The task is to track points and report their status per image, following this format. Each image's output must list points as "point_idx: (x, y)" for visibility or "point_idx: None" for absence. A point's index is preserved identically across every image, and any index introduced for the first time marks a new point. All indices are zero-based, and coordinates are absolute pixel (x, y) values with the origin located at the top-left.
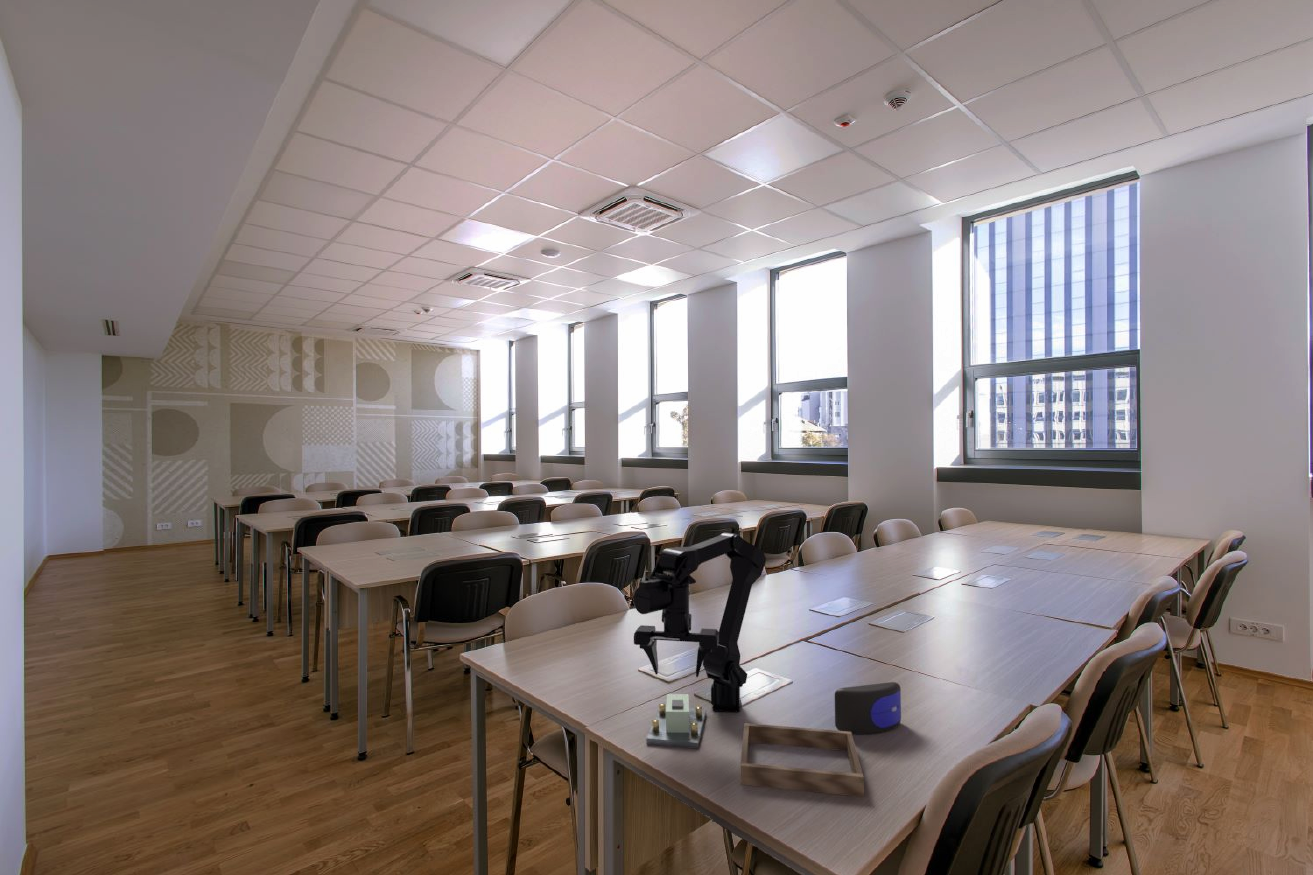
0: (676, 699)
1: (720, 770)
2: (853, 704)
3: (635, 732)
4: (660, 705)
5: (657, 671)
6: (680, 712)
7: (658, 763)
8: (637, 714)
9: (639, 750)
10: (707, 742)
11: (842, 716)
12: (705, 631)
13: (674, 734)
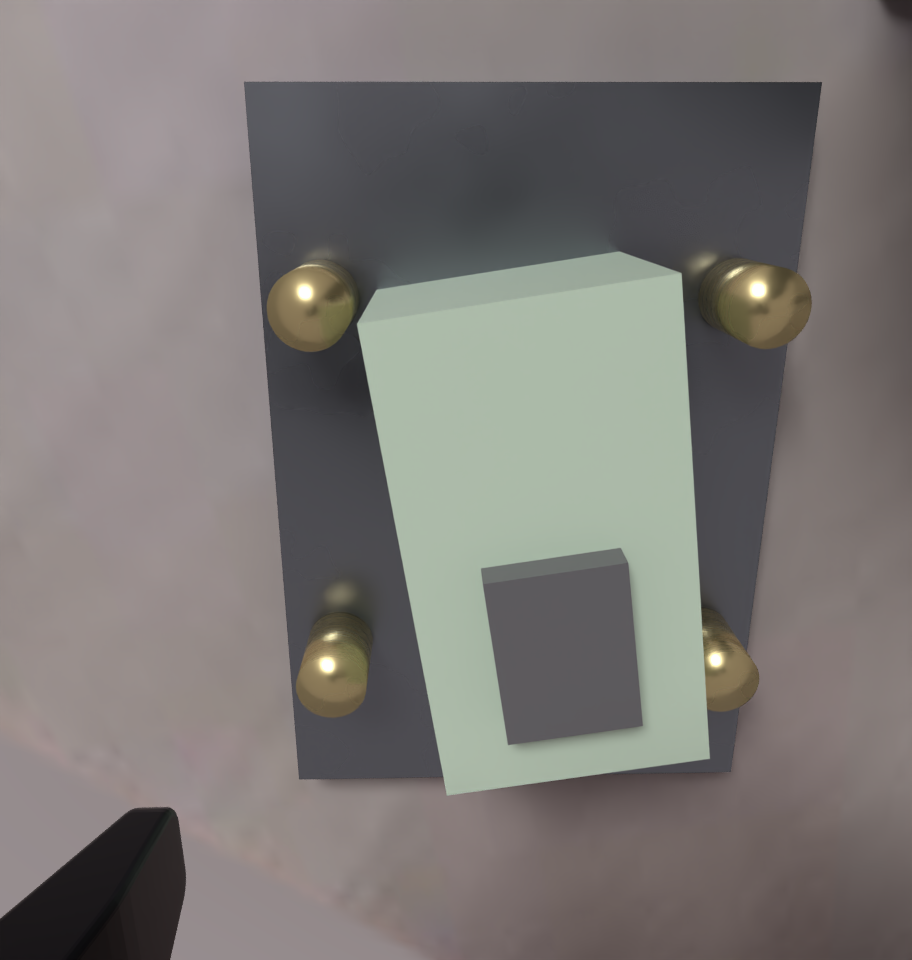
0: (523, 476)
1: (866, 944)
2: None
3: (155, 597)
4: (289, 332)
5: (167, 911)
6: (610, 768)
7: (455, 943)
8: (34, 238)
9: (280, 832)
10: (792, 645)
11: None
12: None
13: None
